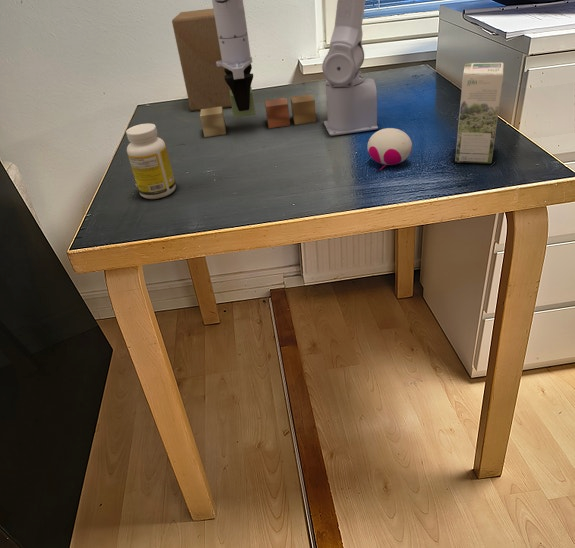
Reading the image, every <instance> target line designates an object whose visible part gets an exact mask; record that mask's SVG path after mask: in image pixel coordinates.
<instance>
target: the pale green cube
mask: <svg viewBox="0 0 575 548" xmlns="http://www.w3.org/2000/svg"><path fill="white" fill-rule="evenodd" d="M252 88H253V87H252V86H251V87H250V106H249V110H245V111H239V110H238V108H237V105H236V102H235V99H234V96H233V93H232V91H231V90H230V98H231V105H232V107H231V110H232V116H233V119H236V118H244V117H252V116H256V108H255V102H254V94H253V89H252Z"/></svg>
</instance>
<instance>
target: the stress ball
mask: <svg viewBox="0 0 575 548" xmlns="http://www.w3.org/2000/svg"><path fill="white" fill-rule="evenodd" d="M367 141H368V142H367V146H366V147H367V152H368V155H369V156H370V158H371V159H372V160H373V161H375V162H376V163H378V164H380V165H383V166H382V167H381V168H380V169H379V171H381V170H382V169H384V168H385V167H386V166H393V165H398V164H401V163H402V162H404V161H405V160H407V159H408V157H410V155H411V153H412V150H413V143H412V139H411V138H410V136H409V135H408V133H406V132H405V131H403V130H401V129H398V128H394V127H386V128H382V129H379V130H377V131H375V132H374V133H373V134H372V135H371V136H370V138H368V140H367Z"/></svg>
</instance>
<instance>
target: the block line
mask: <svg viewBox="0 0 575 548" xmlns="http://www.w3.org/2000/svg"><path fill="white" fill-rule="evenodd" d="M264 106H265V107H264V108H265V114H266V122H267V126H268V129H273V128H281V127H287V126H288V127H289V126H291V121H290V120H291V119H290V111H289V109H290V108H289V102H288V100H287V97H280V98H273V99H265V100H264ZM290 107H291V117H292V121H293V123H294V125H295V126H296V125H304V124H310V123H315V122H317V116H316V115H317V113H316V101H315V98H314V97H313V94H312V93H309V94H302V95H295V96H290ZM199 117H200V123H201V128H202V132H203V138H210V137H216V136H223V135H227V127H226V126H227V125H226V121H225V115H224V108H222V106H221V107H214V108H207V109H201V110H200V113H199Z"/></svg>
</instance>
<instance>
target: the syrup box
mask: <svg viewBox="0 0 575 548" xmlns="http://www.w3.org/2000/svg"><path fill="white" fill-rule="evenodd" d="M504 66H505V65H504V62H466V63H465V65H464V68H463V73H462V80H461V93H460V104H459V106H460V107H459V114H458V126H457V136H456V148H455V159H454V161H455V163H460V164H461V163H463V164H464V163H465V164H467V163H468V164H485V165H486V164H488V165H489V164H492V161H493V154H494V147H495V140H496V131H497V125H498V119H499V112H500V104H501V97H502V89H503V83H504V68H505V67H504Z"/></svg>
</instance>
